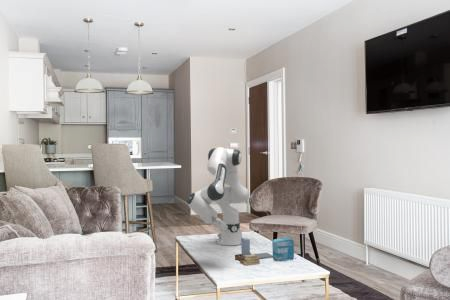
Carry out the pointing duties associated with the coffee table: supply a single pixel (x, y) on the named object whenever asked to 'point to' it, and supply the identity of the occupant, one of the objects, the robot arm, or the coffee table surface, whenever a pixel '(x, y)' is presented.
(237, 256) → the rack
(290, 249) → the data package
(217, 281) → the coffee table surface
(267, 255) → the felt mat
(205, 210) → the robot arm
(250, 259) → the offcut stack
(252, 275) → the coffee table surface
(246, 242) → the pale blue pillar
